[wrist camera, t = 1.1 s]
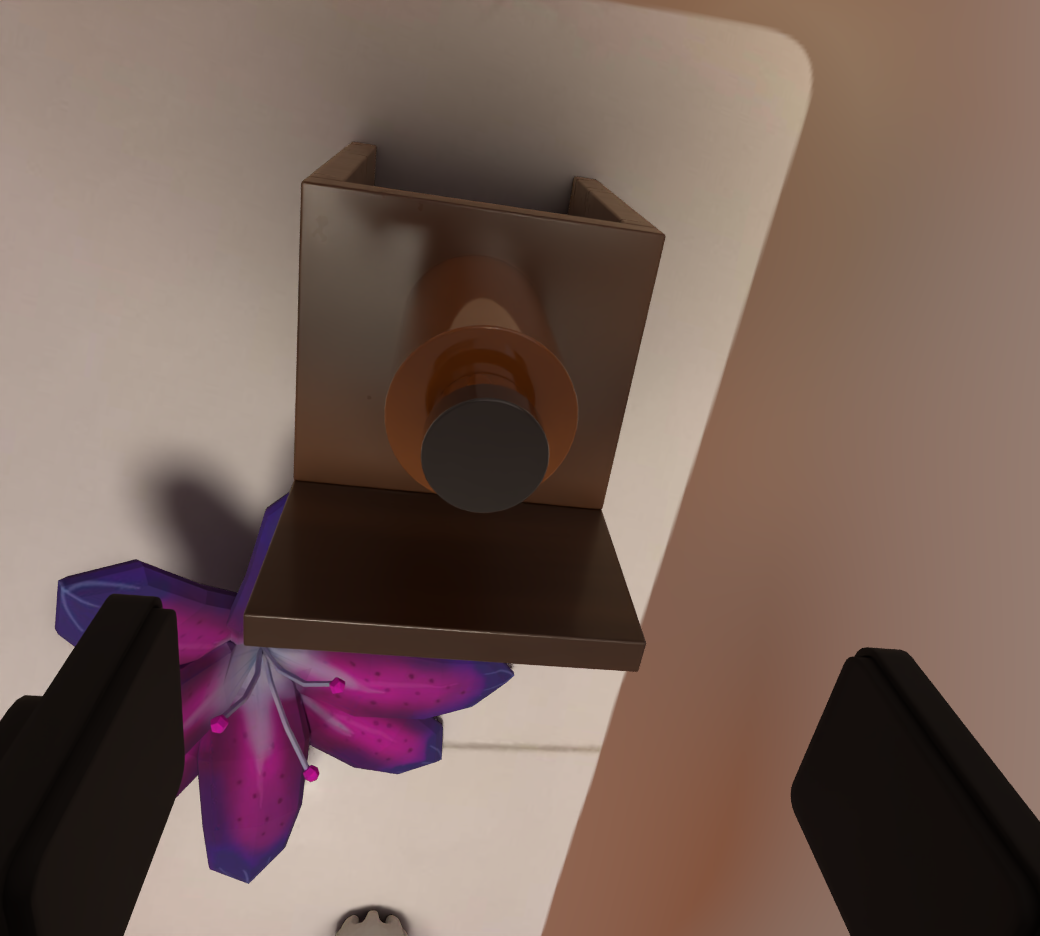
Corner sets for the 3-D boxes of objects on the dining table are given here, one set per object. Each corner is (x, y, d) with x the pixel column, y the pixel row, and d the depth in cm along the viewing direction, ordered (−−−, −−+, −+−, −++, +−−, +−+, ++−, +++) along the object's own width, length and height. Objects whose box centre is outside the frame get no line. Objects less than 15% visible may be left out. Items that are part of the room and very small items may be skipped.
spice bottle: (408, 244, 26) (385, 342, 17) (556, 265, 26) (611, 370, 17) (395, 385, 28) (369, 539, 19) (533, 400, 29) (571, 557, 20)
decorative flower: (521, 392, 49) (607, 481, 42) (429, 718, 64) (481, 823, 57) (-94, 399, 33) (-117, 546, 26) (-22, 832, 48) (-25, 997, 41)
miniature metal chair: (351, 141, 37) (239, 228, 17) (597, 179, 39) (746, 298, 19) (339, 377, 42) (242, 646, 23) (555, 402, 44) (638, 673, 24)
